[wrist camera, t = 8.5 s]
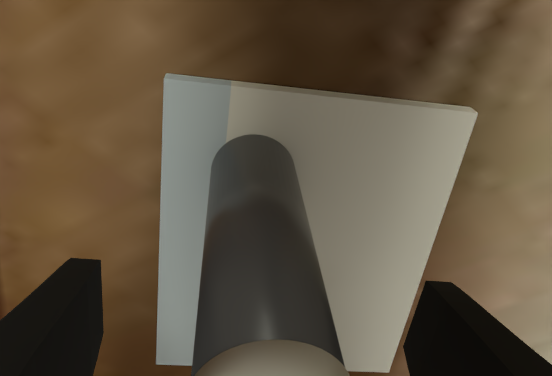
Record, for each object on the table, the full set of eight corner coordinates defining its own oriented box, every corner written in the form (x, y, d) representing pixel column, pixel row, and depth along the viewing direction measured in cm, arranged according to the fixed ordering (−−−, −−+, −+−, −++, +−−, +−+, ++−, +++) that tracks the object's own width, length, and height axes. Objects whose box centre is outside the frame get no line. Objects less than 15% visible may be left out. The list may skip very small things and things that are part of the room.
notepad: (385, 361, 22) (388, 372, 21) (157, 353, 20) (155, 364, 20) (470, 107, 16) (478, 112, 16) (166, 73, 15) (163, 78, 14)
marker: (285, 216, 17) (340, 524, 8) (203, 204, 17) (168, 518, 8) (305, 141, 16) (395, 412, 7) (216, 125, 15) (192, 396, 6)
